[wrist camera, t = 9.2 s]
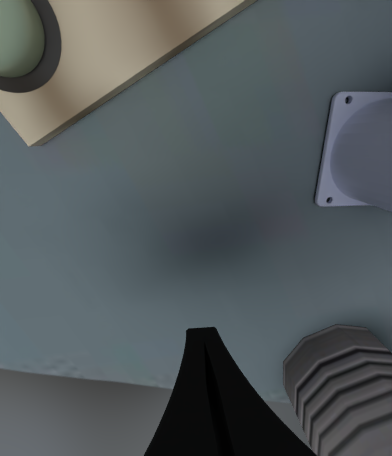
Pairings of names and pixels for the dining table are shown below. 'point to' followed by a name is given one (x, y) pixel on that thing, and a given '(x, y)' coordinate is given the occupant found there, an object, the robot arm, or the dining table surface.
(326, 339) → the can
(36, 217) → the dining table surface
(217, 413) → the robot arm
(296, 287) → the dining table surface
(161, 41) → the button panel
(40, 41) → the sage button
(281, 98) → the dining table surface
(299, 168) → the dining table surface
